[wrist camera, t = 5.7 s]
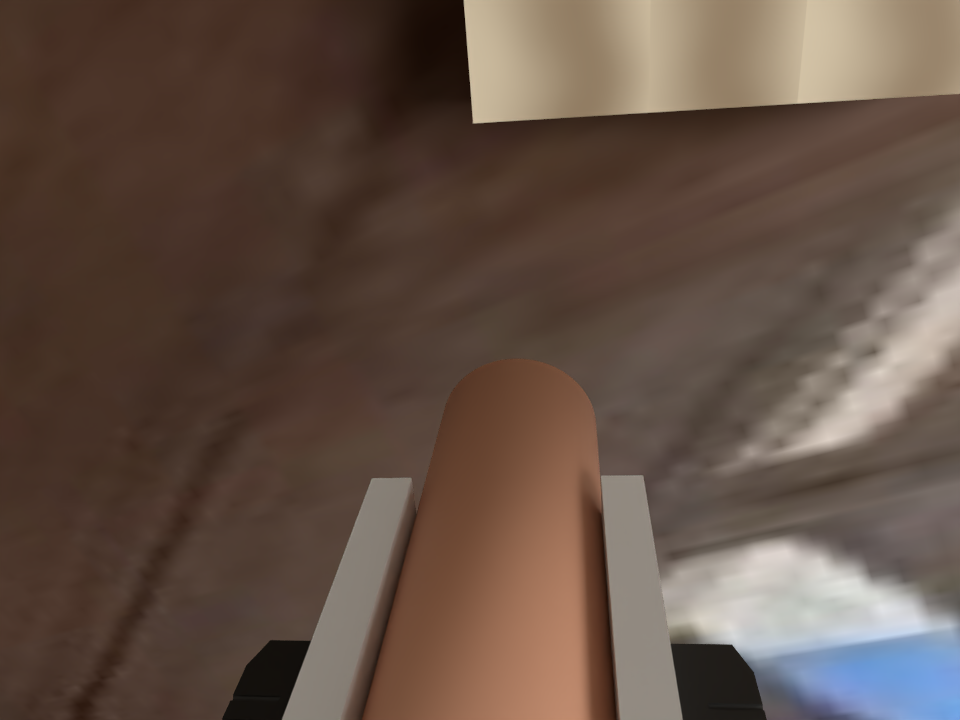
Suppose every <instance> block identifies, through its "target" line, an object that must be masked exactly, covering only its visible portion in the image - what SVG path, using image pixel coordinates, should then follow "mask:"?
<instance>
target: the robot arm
mask: <svg viewBox="0 0 960 720" xmlns="http://www.w3.org/2000/svg"><path fill="white" fill-rule="evenodd" d="M601 517H602V530H603V544H604V557H605V571H606V585H607V598H608V612H609V625H610V639H611V652H612V666H613V679H614V693H615V707H616V720H767V719H766V716H765V712H764V711H763V707H762V701H761V697H760V694H759V690H758V686H757V683H756V679H755V675H754V672H753V671H752V670H751V668H750V667H749V666H748V665H747V663H746V662H745V661H744V660H743V658H742V657H741V656H740V654H739V653H738V652H737V651H736V649H735V648H734V647H733V646H732V645H720V644H670V638H669V632H668V626H667V620H666V613H665V607H664V601H663V595H662V589H661V583H660V576H659V570H658V564H657V558H656V552H655V546H654V539H653V533H652V527H651V521H650V515H649V509H648V502H647V496H646V490H645V484H644V478H643V475H636V476H601ZM415 518H416V508H415V501H414V493H413V486H412V479H411V478H372V480H371V482H370V485H369V488H368V490H367V493H366V496H365V498H364V501H363V504H362V506H361V509H360V512H359V514H358V517H357V520H356V522H355V525H354V528H353V530H352V533H351V536H350V539H349V541H348V544H347V547H346V549H345V552H344V555H343V557H342V560H341V563H340V565H339V568H338V571H337V573H336V576H335V579H334V581H333V584H332V587H331V589H330V592H329V595H328V598H327V600H326V603H325V606H324V608H323V611H322V614H321V616H320V619H319V622H318V624H317V627H316V630H315V632H314V635H313V638H312V640H311V641H280V640H270V641H269V642H268V643H267V644H266V646H265V647H264V648H263V649H262V650H261V651H260V652H259V653H258V654H257V655H256V656H255V657H254V658H253V659H252V660H251V661H250V662H249V663H248V664H247V665H246V668H245V670H244V672H243V674H242V676H241V679H240V681H239V683H238V685H237V687H236V690H235V692H234V694H233V700H232V701H230V703H229V705H228V707H227V709H226V712H225V714H224V716H223V718H222V720H362V717H363V713H364V710H365V706H366V702H367V698H368V695H369V691H370V687H371V683H372V680H373V676H374V672H375V668H376V665H377V661H378V657H379V653H380V649H381V646H382V642H383V638H384V634H385V631H386V627H387V623H388V619H389V616H390V612H391V608H392V604H393V601H394V597H395V593H396V589H397V586H398V582H399V578H400V574H401V571H402V567H403V563H404V559H405V556H406V552H407V548H408V544H409V541H410V537H411V533H412V529H413V526H414V522H415Z"/></svg>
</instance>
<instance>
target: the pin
mask: <svg viewBox="0 0 960 720" xmlns="http://www.w3.org/2000/svg"><path fill="white" fill-rule="evenodd" d="M362 720H616V707H615V693H614V679H613V666H612V652H611V639H610V625H609V612H608V598H607V585H606V571H605V557H604V544H603V530H602V517H601V483H600V470H599V457H598V444H597V431H596V419H595V414H594V410H593V407H592V405H591V402H590V400H589V398H588V397H587V395H586V393H585V392H584V390H583V389H582V388H581V387H580V385H579V384H578V383H577V382H576V381H574V380H573V379H572V378H571V377H570V376H568V375H567V374H566V373H564V372H563V371H561V370H559V369H557V368H555V367H553V366H551V365H548V364H546V363H542V362H539V361H535V360H528V359H505V360H500V361H495V362H492V363H489V364H486V365H483V366H481V367H479V368H477V369H475V370H474V371H472V372H471V373H469V374H468V375H467V376H465V377H464V378H463V379H462V380H461V381H460V382H459V383H458V384H457V386H456V387H455V388H454V389H453V391H452V393H451V394H450V396H449V398H448V400H447V403H446V406H445V409H444V413H443V417H442V421H441V424H440V428H439V432H438V436H437V439H436V443H435V447H434V451H433V454H432V458H431V462H430V466H429V469H428V473H427V477H426V481H425V484H424V488H423V492H422V496H421V499H420V503H419V507H418V511H417V514H416V518H415V522H414V526H413V529H412V533H411V537H410V541H409V544H408V548H407V552H406V556H405V559H404V563H403V567H402V571H401V574H400V578H399V582H398V586H397V589H396V593H395V597H394V601H393V604H392V608H391V612H390V616H389V619H388V623H387V627H386V631H385V634H384V638H383V642H382V646H381V649H380V653H379V657H378V661H377V665H376V668H375V672H374V676H373V680H372V683H371V687H370V691H369V695H368V698H367V702H366V706H365V710H364V713H363V717H362Z"/></svg>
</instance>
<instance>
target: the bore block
mask: <svg viewBox="0 0 960 720" xmlns="http://www.w3.org/2000/svg"><path fill="white" fill-rule="evenodd" d="M464 11H465V24H466V37H467V50H468V62H469V75H470V88H471V101H472V114H473V123H487V122H504V121H520V120H536V119H553V118H569V117H586V116H602V115H618V114H635V113H651V112H668V111H684V110H700V109H717V108H733V107H750V106H766V105H782V104H799V103H815V102H832V101H848V100H864V99H881V98H897V97H914V96H930V95H946V94H960V0H464Z"/></svg>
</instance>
